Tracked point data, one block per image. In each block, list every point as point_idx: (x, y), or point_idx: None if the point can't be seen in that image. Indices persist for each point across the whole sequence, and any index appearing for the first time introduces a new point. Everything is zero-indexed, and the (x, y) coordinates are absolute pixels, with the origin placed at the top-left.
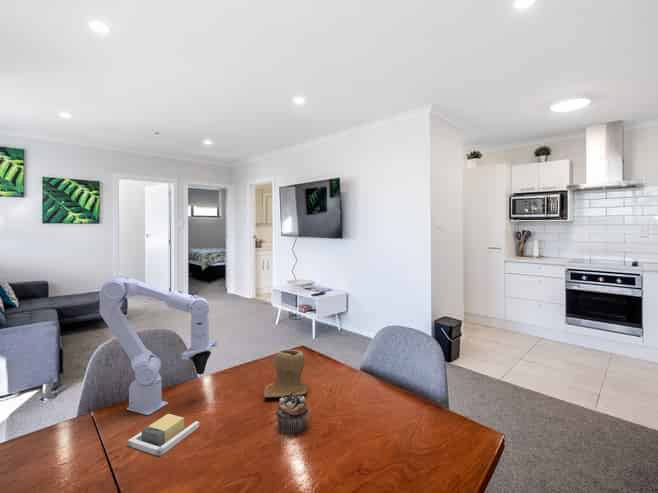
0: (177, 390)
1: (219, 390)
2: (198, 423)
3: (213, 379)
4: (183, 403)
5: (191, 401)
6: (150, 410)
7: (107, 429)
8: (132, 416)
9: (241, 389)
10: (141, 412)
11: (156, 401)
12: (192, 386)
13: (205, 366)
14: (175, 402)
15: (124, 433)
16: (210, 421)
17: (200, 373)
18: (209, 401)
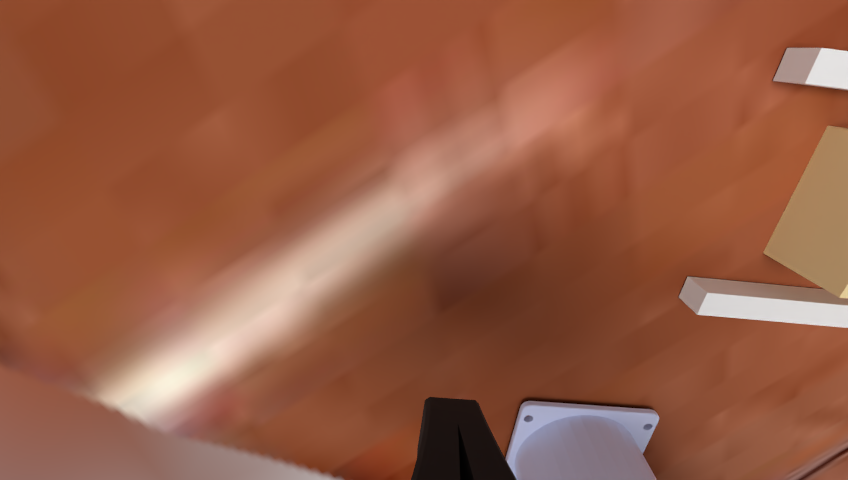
0: (365, 444)
1: (253, 220)
2: (820, 49)
3: (136, 351)
4: (495, 332)
5: (460, 305)
6: (624, 427)
7: (771, 472)
8: (660, 459)
9: (143, 42)
10: (644, 449)
11: (617, 452)
12: (287, 406)
13: (420, 464)
14: (494, 377)
15: (813, 399)
16: (709, 4)
17: (481, 418)
18: (428, 195)
